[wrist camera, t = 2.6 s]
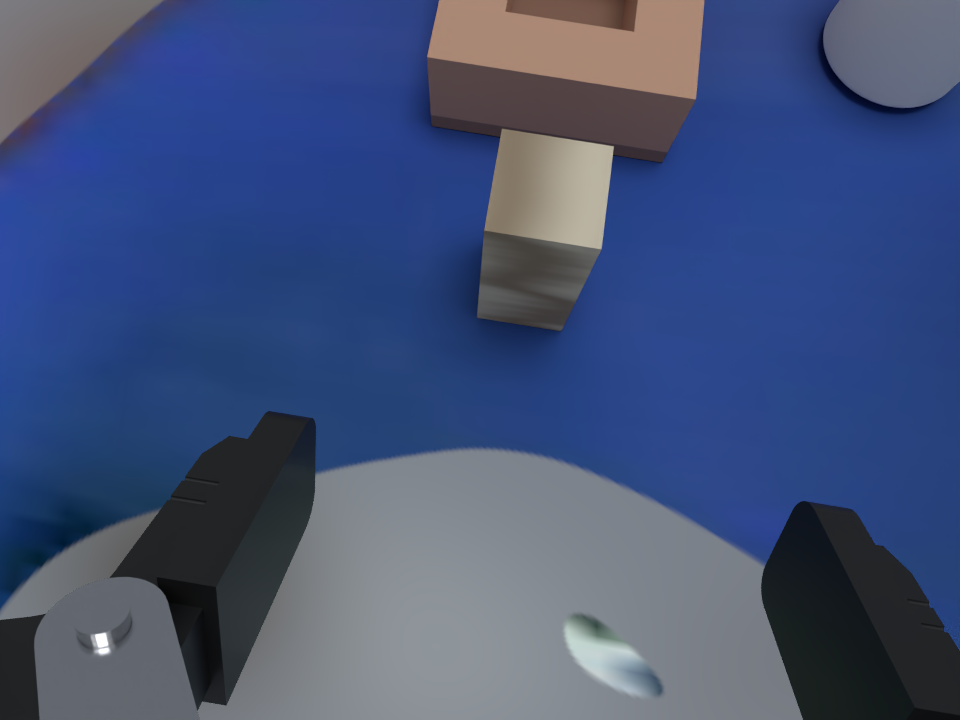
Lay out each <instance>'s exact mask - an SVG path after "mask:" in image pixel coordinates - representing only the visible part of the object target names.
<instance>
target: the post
mask: <svg viewBox="0 0 960 720" xmlns="http://www.w3.org/2000/svg"><path fill="white" fill-rule="evenodd" d="M613 150H614V146H608V145H602V144H595V143H589V142H583V141H577V140H570V139H564V138H558V137H551V136H545V135H539V134H533V133H526V132H520V131H514V130H507V129H502V132H501V137H500V143H499V149H498V155H497V160H496V166H495V172H494V177H493V183H492V189H491V195H490V200H489V206H488V212H487V218H486V223H485V229H484V240H483V252H482V264H481V276H480V287H479V299H478V311H477V318H483V319H489V320H495V321H501V322H507V323H514V324H520V325H526V326H532V327H538V328H544V329H551V330H557V331H562V329H563V327H564V325H565V322H566V320H567V318H568V316H569V314H570V312H571V310H572V308H573V306H574V304H575V302H576V300H577V298H578V296H579V294H580V292H581V290H582V288H583V286H584V284H585V282H586V280H587V278H588V276H589V274H590V271H591V269H592V267H593V265H594V263H595V261H596V259H597V257H598V255H599V253H600V251H601V248H602V240H603V232H604V224H605V215H606V207H607V199H608V191H609V182H610V174H611V166H612V158H613Z"/></svg>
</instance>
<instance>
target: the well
mask: <svg viewBox="0 0 960 720" xmlns="http://www.w3.org/2000/svg"><path fill="white" fill-rule="evenodd" d="M703 11H704V0H439V4H438V9H437V13H436V18H435V23H434V27H433V32H432V37H431V41H430V46H429V51H428V55H427V63H428V79H429V94H430V109H431V125H432V126H435V127H441V128H447V129H454V130H460V131H466V132H473V133H479V134H485V135H491V136H498V137H501V132H502V129H507V130H514V131H520V132H526V133H533V134H539V135H545V136H551V137H558V138H564V139H570V140H577V141H583V142H589V143H595V144H602V145H608V146H614V150H613V155H617V156H624V157H630V158H636V159H642V160H649V161H655V162H661V163H662V162H663V160H664V158H665V156H666V154H667V152H668V150H669V149H670V147H671V145H672V143H673V141H674V139H675V137H676V136H677V134H678V132H679V130H680V128H681V126H682V124H683V123H684V121H685V119H686V117H687V115H688V113H689V111H690V109H691V108H692V106H693V104H694V102H695V100H696V92H697V81H698V69H699V57H700V46H701V34H702V22H703Z"/></svg>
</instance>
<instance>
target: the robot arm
mask: <svg viewBox="0 0 960 720" xmlns="http://www.w3.org/2000/svg"><path fill="white" fill-rule="evenodd" d="M315 450H316V425H315V421H314V419H313V418H308V417H302V416H296V415H290V414H284V413H278V412H271V411H268V412H267V413H265V415H264V416H263V417H262V419H261V420H260V422H259V423H258V425H257V426H256V428H255V429H254V431H253V432H252V434H251V435H250V437H249V438H248V439H244V438H238V437H232V436H229V437H227V438H226V439H224V440H223V441H221V442H219V443H218V444H216V445H215V446H213V447H212V448H210V449H209V450H207V451H205V452H204V453H202V455H201V456H200V457H199V459H198V460H197V461H196V463H195V464H194V465H193V467H192V468H191V469H190V471H189V472H188V474H187V475H186V476H185V481H182V482H181V483H180V484H179V486H178V487H177V488H176V490H175V491H174V492H173V494H172V495H171V499H170V501H169V500H167V502H166V503H165V505H164V506H163V507H162V509H161V510H160V511H159V513H158V514H157V515H156V517H155V518H154V519H153V521H152V522H151V524H150V525H149V526H148V527H147V529H146V530H145V531H144V533H143V534H142V536H141V537H140V538H139V540H138V541H137V542H136V544H135V545H134V546H133V548H132V549H131V550H130V552H129V553H128V554H127V556H126V557H125V558H124V560H123V561H122V563H121V564H120V565H119V567H118V568H117V570H116V571H115V572H114V573H113V574H112V576H111V577H110V578H107V579H103V580H99V581H95V582H92V583H90V584H87V585H85V586H83V587H80V588H78V589H76V590H75V591H73V592H71V593H69V594H68V595H66V596H65V597H64V598H62V599H61V600H60V601H58V602H57V603H56V604H55V605H54V606H53V607H52V608H51V609H50V610H49V611H48V612H47V613H46V614H43V615H38V616H32V617H24V618H15V619H6V620H0V720H199V716H198V712H197V711H198V709H199V707H200V705H201V702H202V701H203V702H209V703H215V704H221V705H227V703H228V701H229V699H230V696H231V694H232V692H233V690H234V687H235V685H236V683H237V681H238V678H239V676H240V674H241V672H242V669H243V667H244V665H245V663H246V661H247V658H248V656H249V654H250V652H251V649H252V647H253V645H254V643H255V641H256V638H257V636H258V634H259V632H260V629H261V627H262V625H263V623H264V620H265V618H266V616H267V614H268V611H269V609H270V607H271V605H272V603H273V600H274V598H275V596H276V593H277V591H278V589H279V587H280V585H281V583H282V580H283V578H284V576H285V573H286V571H287V569H288V567H289V565H290V562H291V560H292V558H293V556H294V553H295V551H296V549H297V547H298V544H299V542H300V540H301V538H302V536H303V533H304V531H305V529H306V527H307V524H308V521H309V518H310V514H311V511H312V506H313V501H314V493H315ZM761 589H762V590H761V592H762V600H763V604H764V608H765V611H766V614H767V617H768V620H769V623H770V625H771V628H772V631H773V634H774V637H775V640H776V643H777V646H778V648H779V651H780V654H781V657H782V660H783V663H784V666H785V669H786V672H787V674H788V677H789V680H790V683H791V686H792V689H793V692H794V695H795V697H796V700H797V703H798V706H799V709H800V712H801V715H802V718H803V720H960V651H959V649H958V648H957V646H956V645H955V643H954V641H953V640H952V638H951V636H950V635H949V633H946V632H944V625H943V624H942V622H941V620H940V619H939V617H938V615H937V614H936V612H935V611H934V609H933V608H929V601H928V599H927V598H926V596H925V594H924V593H923V591H922V590H921V588H920V586H919V585H918V583H917V581H916V580H915V578H914V577H913V575H912V573H911V572H910V571H908V570H907V569H906V568H905V567H904V566H903V565H902V564H901V563H900V562H899V561H898V560H897V559H896V558H895V557H894V556H893V555H892V554H891V553H890V552H889V551H888V550H886V549H885V548H884V547H883V546H879V545H875V544H874V542H873V540H872V538H871V537H870V535H869V533H868V532H867V530H866V528H865V527H864V525H863V523H862V521H861V520H860V518H859V516H858V515H857V514H856V513H855V512H854V511H853V510H851V509H848V508H842V507H836V506H830V505H824V504H818V503H812V502H806V501H802V502H800V503H798V504H797V505H796V506H795V507H794V509H793V511H792V513H791V515H790V517H789V519H788V521H787V523H786V525H785V527H784V529H783V531H782V533H781V535H780V537H779V539H778V541H777V543H776V545H775V547H774V549H773V551H772V553H771V555H770V557H769V559H768V561H767V563H766V566H765V568H764V571H763V576H762V584H761Z"/></svg>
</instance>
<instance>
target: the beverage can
mask: <svg viewBox="0 0 960 720" xmlns="http://www.w3.org/2000/svg"><path fill="white" fill-rule="evenodd" d="M823 45H824V51H825V54H826V57H827V60H828V62H829V64H830V66H831V68H832V69H833V71H834V72H835V74H836V75H837V76H838V78H839V79H840V80H841V81H842V82H843V83H844V84H845V85H846V86H847V87H848V88H850V89H851V90H852V91H854V92H855V93H857V94H858V95H860V96H861V97H863V98H865V99H867V100H869V101H872V102H875V103H877V104H881V105H884V106H889V107H896V108H912V107H918V106H923V105H926V104H929V103H932V102H934V101H936V100H938V99H939V98H941V97H942V96H944V95H945V94H946V93H947V92H949V91H950V90H951V89H952V88H953V87H954V86H955V85H956V84H957V83H958V82H960V0H839V2H838V3H837V5H836V6H835V8H834V9H833V10H832V12H831V13H830V15H829V17H828V19H827V21H826V24H825V27H824V33H823Z"/></svg>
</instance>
